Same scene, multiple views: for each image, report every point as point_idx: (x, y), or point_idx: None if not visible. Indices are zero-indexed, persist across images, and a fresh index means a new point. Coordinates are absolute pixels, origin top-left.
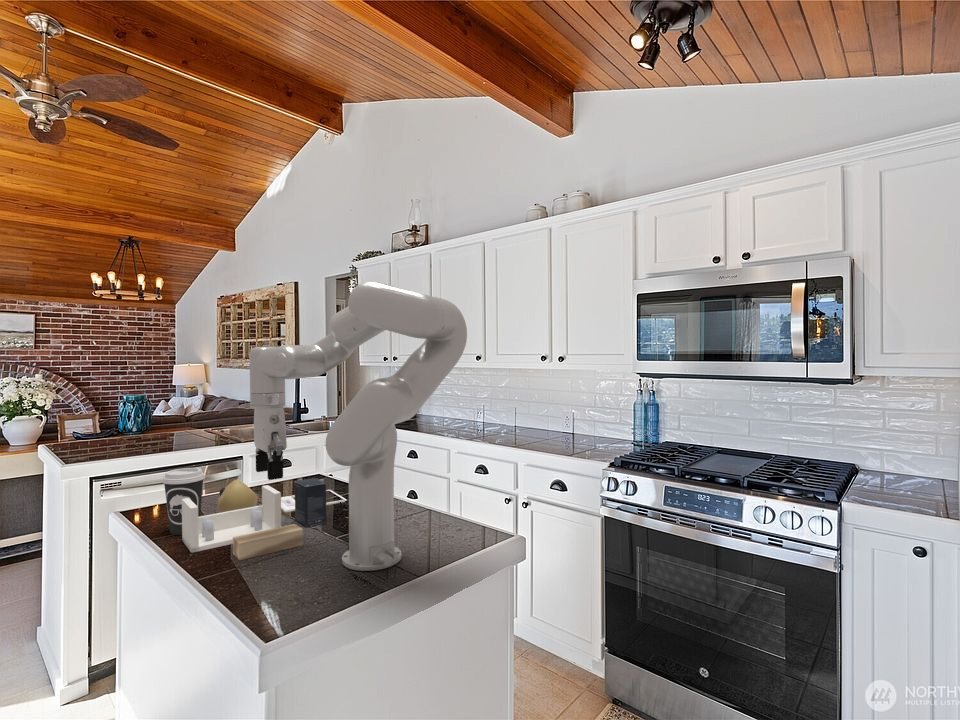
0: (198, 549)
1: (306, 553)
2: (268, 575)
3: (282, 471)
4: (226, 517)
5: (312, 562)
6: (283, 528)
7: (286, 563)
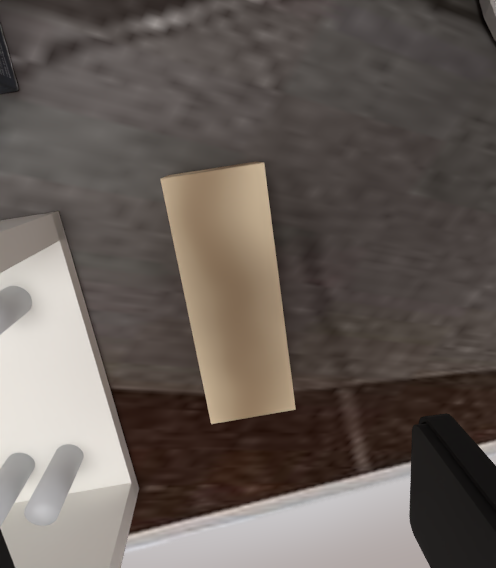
0: (132, 476)
1: (355, 171)
2: (459, 316)
3: (485, 461)
4: None
5: (452, 173)
6: (204, 240)
7: (403, 253)
